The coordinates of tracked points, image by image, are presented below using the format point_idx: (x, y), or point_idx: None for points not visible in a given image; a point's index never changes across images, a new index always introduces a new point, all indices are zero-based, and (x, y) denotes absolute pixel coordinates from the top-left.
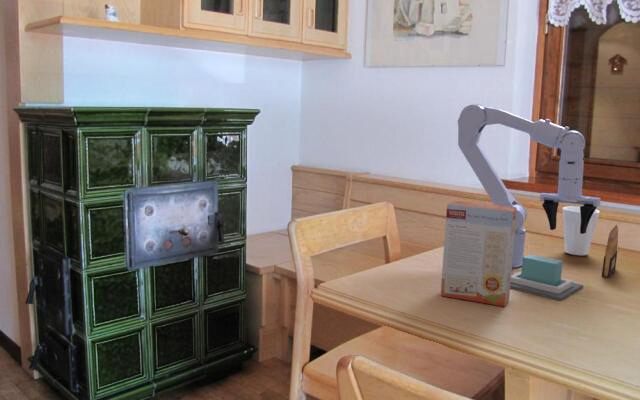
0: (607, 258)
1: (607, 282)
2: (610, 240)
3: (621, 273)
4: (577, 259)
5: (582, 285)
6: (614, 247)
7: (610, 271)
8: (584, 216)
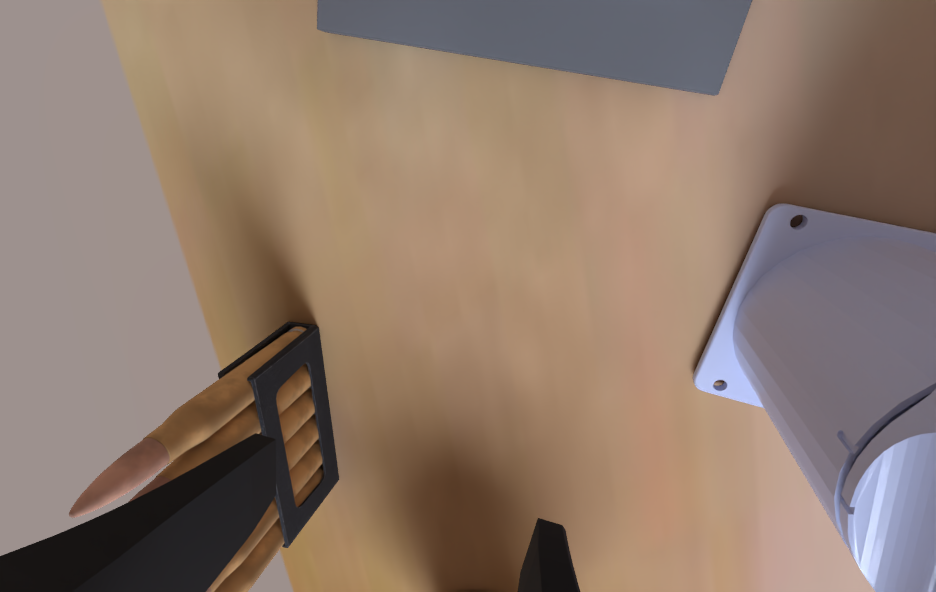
0: (239, 370)
1: (270, 233)
2: (141, 445)
3: None
4: (467, 548)
5: (317, 15)
6: None
7: (270, 340)
8: (39, 560)
